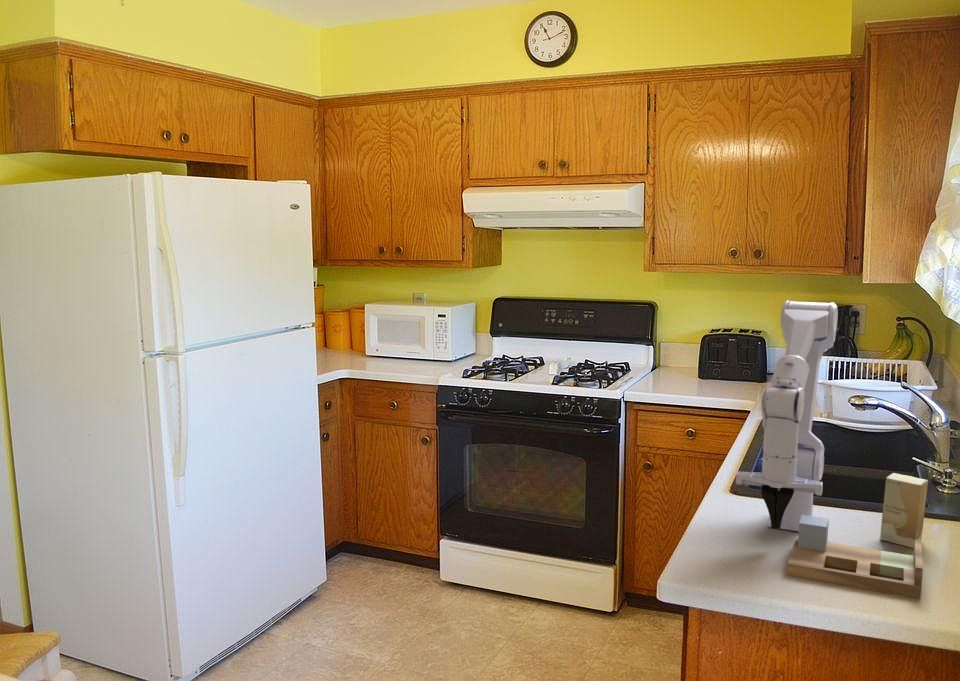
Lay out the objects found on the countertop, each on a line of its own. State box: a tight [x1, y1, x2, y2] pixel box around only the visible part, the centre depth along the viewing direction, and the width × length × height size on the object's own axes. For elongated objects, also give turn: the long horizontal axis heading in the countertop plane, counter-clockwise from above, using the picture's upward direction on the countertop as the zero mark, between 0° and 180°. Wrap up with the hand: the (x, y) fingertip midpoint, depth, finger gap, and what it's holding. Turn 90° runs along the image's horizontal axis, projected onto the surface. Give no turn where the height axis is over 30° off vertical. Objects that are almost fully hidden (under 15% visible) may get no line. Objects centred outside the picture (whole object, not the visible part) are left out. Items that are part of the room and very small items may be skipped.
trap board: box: [786, 536, 924, 599], centre depth 142 cm, size 13×20×5 cm, turn 63°
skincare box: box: [879, 472, 929, 549], centre depth 154 cm, size 6×4×12 cm
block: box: [797, 515, 830, 552], centre depth 148 cm, size 4×4×4 cm
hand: (776, 527), depth 151 cm, fingers closed
